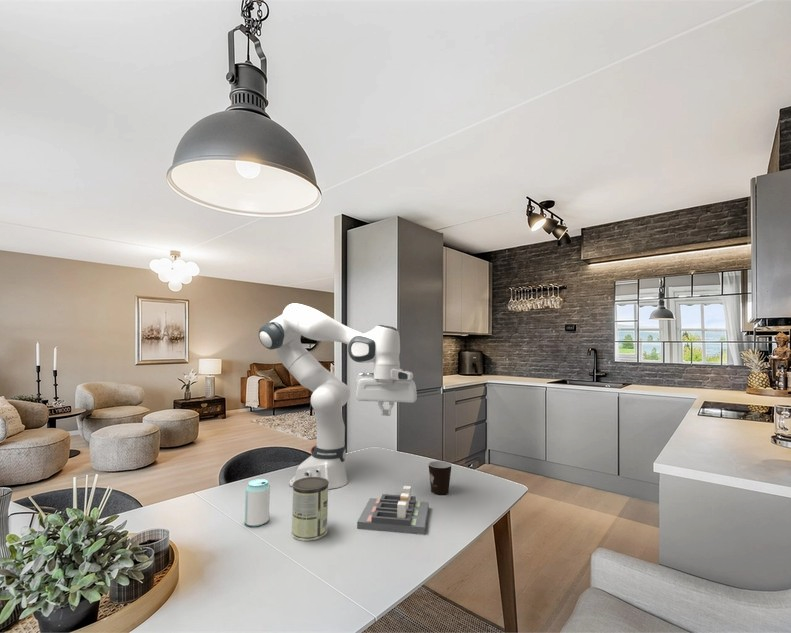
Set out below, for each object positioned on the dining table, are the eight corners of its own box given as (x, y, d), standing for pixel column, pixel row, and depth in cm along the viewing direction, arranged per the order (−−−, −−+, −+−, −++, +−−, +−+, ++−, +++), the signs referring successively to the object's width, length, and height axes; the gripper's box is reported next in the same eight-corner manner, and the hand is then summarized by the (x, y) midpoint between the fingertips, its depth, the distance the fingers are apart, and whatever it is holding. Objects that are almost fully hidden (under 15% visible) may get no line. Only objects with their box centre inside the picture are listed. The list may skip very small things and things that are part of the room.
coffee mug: (452, 496, 141) (452, 468, 142) (429, 496, 141) (429, 467, 142) (449, 484, 153) (449, 458, 153) (427, 484, 153) (427, 458, 153)
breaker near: (397, 521, 115) (397, 504, 116) (398, 518, 118) (398, 501, 118) (405, 522, 115) (405, 505, 115) (406, 518, 117) (406, 501, 118)
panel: (357, 528, 116) (357, 516, 116) (370, 503, 134) (370, 493, 134) (424, 534, 113) (424, 521, 113) (428, 508, 131) (428, 497, 131)
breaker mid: (400, 512, 122) (400, 496, 122) (401, 509, 124) (401, 493, 125) (408, 513, 121) (408, 496, 122) (409, 509, 124) (409, 493, 124)
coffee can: (292, 525, 117) (294, 477, 118) (327, 523, 119) (328, 475, 120) (289, 542, 107) (291, 490, 108) (327, 540, 109) (328, 488, 110)
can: (262, 515, 124) (263, 476, 125) (272, 522, 119) (274, 482, 120) (240, 521, 119) (242, 481, 120) (250, 530, 114) (252, 487, 115)
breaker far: (402, 504, 128) (403, 488, 129) (403, 501, 131) (403, 485, 131) (410, 504, 128) (410, 488, 128) (410, 501, 130) (411, 486, 131)
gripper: (354, 373, 129) (353, 415, 128) (415, 374, 126) (415, 418, 125) (358, 372, 135) (358, 412, 134) (417, 373, 132) (417, 414, 131)
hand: (386, 415), depth 130 cm, fingers closed
